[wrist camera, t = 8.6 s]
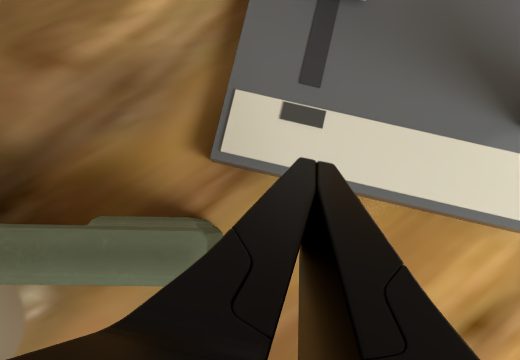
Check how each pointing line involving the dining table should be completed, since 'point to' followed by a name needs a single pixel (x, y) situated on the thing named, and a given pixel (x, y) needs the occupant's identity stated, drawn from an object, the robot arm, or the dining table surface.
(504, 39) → the switch bank
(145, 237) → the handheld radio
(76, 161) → the dining table surface
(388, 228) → the dining table surface
